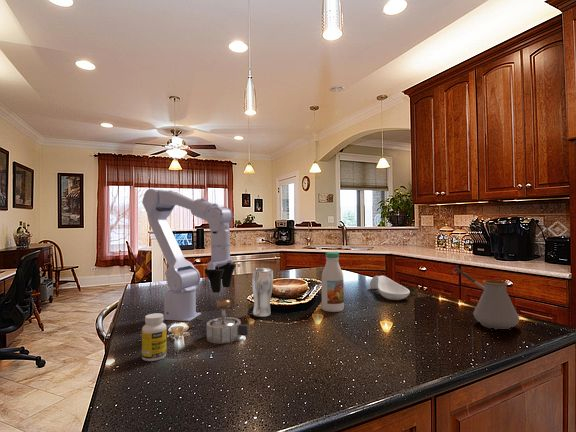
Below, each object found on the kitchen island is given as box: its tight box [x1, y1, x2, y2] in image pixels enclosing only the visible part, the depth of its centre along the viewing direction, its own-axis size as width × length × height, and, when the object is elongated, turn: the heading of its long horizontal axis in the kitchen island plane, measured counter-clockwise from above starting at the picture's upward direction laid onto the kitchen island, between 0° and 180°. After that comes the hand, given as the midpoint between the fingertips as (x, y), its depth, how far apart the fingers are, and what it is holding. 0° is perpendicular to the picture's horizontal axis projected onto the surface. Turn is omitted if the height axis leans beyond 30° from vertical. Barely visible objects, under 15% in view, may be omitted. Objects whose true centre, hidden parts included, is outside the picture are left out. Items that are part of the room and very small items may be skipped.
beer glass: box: [251, 267, 274, 318], centre depth 110 cm, size 7×7×15 cm
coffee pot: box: [452, 267, 520, 330], centre depth 101 cm, size 21×12×15 cm, turn 16°
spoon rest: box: [368, 275, 411, 301], centre depth 135 cm, size 24×12×7 cm, turn 12°
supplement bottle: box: [141, 312, 168, 362], centre depth 77 cm, size 5×5×10 cm
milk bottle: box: [321, 251, 345, 313], centre depth 115 cm, size 8×8×20 cm
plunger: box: [212, 298, 235, 327], centre depth 89 cm, size 6×6×7 cm
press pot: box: [206, 316, 249, 344], centre depth 89 cm, size 11×9×4 cm
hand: (221, 289), depth 101 cm, fingers open, 7 cm apart
